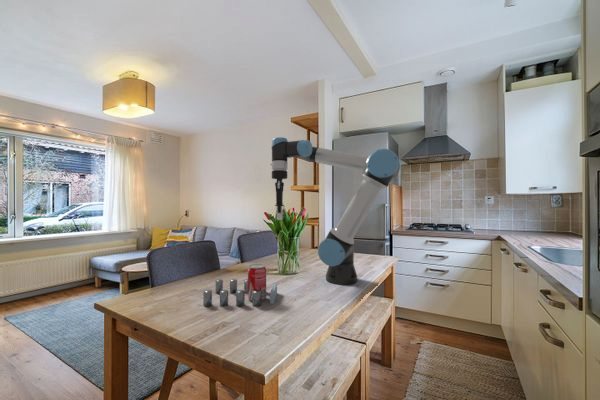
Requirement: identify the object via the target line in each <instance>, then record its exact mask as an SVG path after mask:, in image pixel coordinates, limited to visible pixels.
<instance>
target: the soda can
mask: <svg viewBox="0 0 600 400" xmlns="http://www.w3.org/2000/svg"><path fill="white" fill-rule="evenodd" d="M247 279H248V294H247V298H248V300H249V301H251V302H253V291H254V290H260V291H261V302H262V301H264V300H266V298H267V269H266V265H265V264H262V263H253V264H250V265H249V266H248V269H247Z"/></svg>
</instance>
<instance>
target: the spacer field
mask: <svg viewBox="0 0 600 400" xmlns="http://www.w3.org/2000/svg"><path fill="white" fill-rule="evenodd" d="M243 281H244V282H243V283H244V285H243V289H239V290H238V279H234V278H233V279H230V280H229V290H228V289H224V280H223V279H220V278H219V279H215V281H214V282H215V285H214V287H215V290H214V291H215V294H219V306H220V307H224V308H225V307H227V306H229V293H230V294H235V302H236V303H235V305H236V307H238V308H239V307H244V306H245V302H246V301H245V297H246V296H245V294H247V295H248V278H247V279H244V280H243ZM202 296H203V297H202V299H203V302H202V303H203V304H202V305H203V307H206V308H207V307H211V306H212V305H213V290H212V289H207V290H203V295H202ZM261 305H262V301H261V291H260V290H254V291H253V301H252V306H253V307H256V308H257V307H260V306H261Z"/></svg>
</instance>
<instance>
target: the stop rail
mask: <svg viewBox="0 0 600 400" xmlns="http://www.w3.org/2000/svg"><path fill="white" fill-rule="evenodd" d="M277 294H278V283H273V284H272V286H271V289H270V291H269V305H274V304H275V302H276V297H277Z"/></svg>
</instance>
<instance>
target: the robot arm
mask: <svg viewBox="0 0 600 400" xmlns="http://www.w3.org/2000/svg"><path fill="white" fill-rule="evenodd" d="M289 158H299V159H301V160H304V161H306V162H309V163H310V162H311V163H318V164H321V165H327V166H333V167H336V168H343V169H347V170H352V171H356V172H362V173H361V177H362V180H361V183H360V184H359V186H358V188H357V189H356V191H355V192H354V195H353V197H352V198H351V200H350V201H349V203H348V205H347V207H346V209H345V210H344V213H343V214H342V216H341V217H340V219H339V221H338V223H337V225H336V227H333V228H331V229H329V232H328V233H327V235H326V237H325V238H324V240H321V242H320V243H319V245H318V248H317V255H318V257H319V259H320V261H321V262H322V263H323V264H324V265H326V266H328V267H327V269H326V273H325V281H327V282H329V283H330V284H335V285H352V284H355V283H356V284H357V282H358V275H357V270H356V268H355V264H354V261H355V259H354V256H355V255H354V252H355V251H354V250H355V249H354V247H355V246H354V244H355V239H354V238H355V235H356V234H357V232H358V230H359V229H360V227H361V225H362V224H363V221H365V219H366V217H367V215H368V213H369V212H370V210H371V208H372V206H373V205H374V203H375V201H376V199H377V198H378V197H379V194H380V193H381V191H382V190H383V189H387V188H388V187H389V186H390V183H391V181H392V180H393V179H394V178H395V177H396V176H397V175H398V174H399V172H400V169H401V168H400V167H401V164H400V159H399V157H398V155H397V154H396V152H395V151H393V150H392V149H389V148H378V149H376V150H374V151H373V152H372V153H370V155H369V156H368V155H362V154H358V153H351V152H345V151H340V150H334V149H328V148H323V147H318V146H313V144H312V142H311V141H310V140H309V139H301V140H293V141H292V140H291V141H288V138H286V137H284V136H281V137H274V138H273V139H272V140H271V163H270V166H271V170H272V171H271V179H273V180H276V181H275V183H274V187H275V199H276V200H275V204H274V206H275V207H276V220H277V221H283V207H284V202H283V200H284V199H283V197H284V196H283V195H284V194H283V193H284V187H285V183H284V182H283V180H287V179H288V165H289V164H288V159H289Z"/></svg>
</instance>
